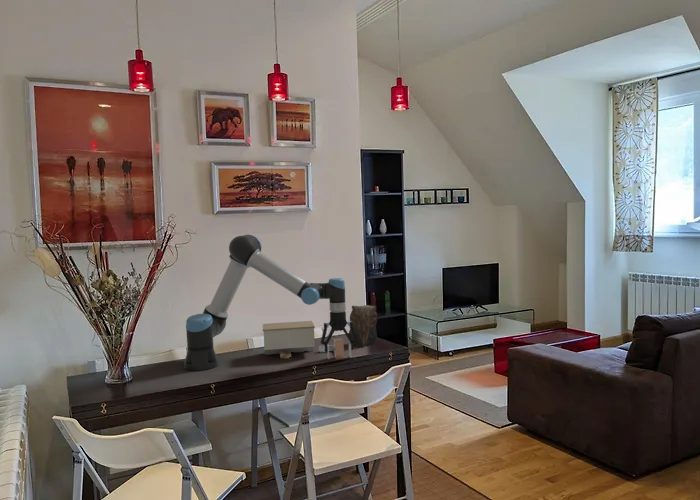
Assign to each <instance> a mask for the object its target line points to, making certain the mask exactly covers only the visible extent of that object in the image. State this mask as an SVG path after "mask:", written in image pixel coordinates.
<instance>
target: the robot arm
mask: <svg viewBox="0 0 700 500" xmlns="http://www.w3.org/2000/svg"><path fill="white" fill-rule="evenodd" d="M262 248H263V247H262V243H261V241H260V239H259V238H258V237H256V236H255V235H253V234H244V235H238V236H235V237H234V238H232V240H231V241H230V242H229V245H228V250H229V251H228V252H229V256H228V257H229V260H230V262H229V264H228V265H227V268H226V270H225V272H224V275H223V276H222V279H221V281H220V282H219V285H218V287H217V290H216V291H215V294H214V296H213V298H212V300H211V302H210V304H208V305H206V306H205V308H204V309H203V311H202V313H196V314H193V315H190V316H189V317H188V318H187V319H186V320H185V323H186V324H185V330H186V344H187V345H186V346H187V347H186V348H187V351H186V355H185V359H184V363H183V364H184V365H183V366H184V367H183V368H184V370H186V371H187V370H188V371H203V370H204V371H205V370H210V369H213V368H216V367H217V366H219V360H218V359H219V358H218V356H217V354H216V351H215V349H214V348H215V347H214V338H215V337H216V336H218V335H220V334H221V333H222V332H223V331H224V330H225V328H226V325H227V320H228V317H229V314H228V311H229V310H228V309H229V307H230V306H231V303H232V301H233V300H234V297H235V295H236V293H237V290H238V288H239V287H240V284H241V283H242V280H243V278H244V277H245V273H246V272H247V270H248V269H249V268H252V269H254V270H256V271H258V272H259V273H260V274H262V275H264V276H265V277H267V278H268V279H270V280H271V281H273V282H275V283H276V284H278V285H280V287H283V288H284V289H285V290H287V291H289V292H290V293H292V294H293V295H295V296H297V297H298V298H300V299H301V301H302V303H304V304H306V305H314V304H316V303H317V302H318V301H319V300H329V311H330V312H329V322H323V330H322V335H321V338H320V339H321V340H320V344H321V345H322V346H325V352H324V353H327V356H326V357H327V358H326V359H327V360H330V352H329V345H330V344H329V342H330V340H331V338H332V336H333V334H334V332H339V331H340V332H342V331H343V333H344V334H345V336H346V337H347V340H348V341H349V342H348V357H349V358H352V351H353V350H354V345H353V343H354V342H357V339H356V336H355V333H354V329H353V322H352V321H350V320H349V321H347V312H346V284H345V280H344V279H343V278H340V277H339V278H338V277H332V278H329V279H328V282H323V283H322V282H319V283H318V282H307V281H305V280H304V279H302V278H301V277H299V276H298V275H297V274H295V273H293V272H291V271H290V270H288V269H287V268H286V267H284V266H282V265H280V264H279V263H277V262H275V260H273V259H272V258H269V257H267V256H266V255H265V254H263V253H262ZM346 326H348V327H349V331H350V330H351V333H352V336H353V340H352V339H351V337H350V336H349V332H348V331H347V330H346ZM329 327H331V328H330V331H329V332H328V335H327V330H328V328H329ZM326 335H327V337H326Z"/></svg>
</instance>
